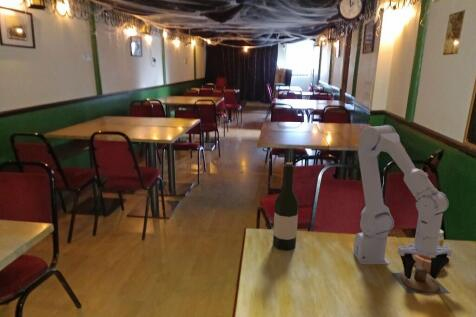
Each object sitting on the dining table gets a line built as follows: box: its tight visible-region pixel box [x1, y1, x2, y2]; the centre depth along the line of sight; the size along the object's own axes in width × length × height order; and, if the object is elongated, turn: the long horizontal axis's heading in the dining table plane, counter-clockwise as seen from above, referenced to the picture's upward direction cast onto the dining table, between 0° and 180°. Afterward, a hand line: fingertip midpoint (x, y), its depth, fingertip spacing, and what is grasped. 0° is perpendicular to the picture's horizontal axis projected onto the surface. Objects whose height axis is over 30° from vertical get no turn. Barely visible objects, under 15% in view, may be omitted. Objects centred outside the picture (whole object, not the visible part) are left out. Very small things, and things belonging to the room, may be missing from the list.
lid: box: [400, 266, 440, 294], centre depth 100 cm, size 10×10×4 cm
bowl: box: [412, 255, 444, 273], centre depth 110 cm, size 9×9×4 cm
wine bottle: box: [272, 162, 300, 252], centre depth 118 cm, size 8×8×30 cm
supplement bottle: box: [437, 228, 445, 247], centre depth 117 cm, size 5×5×8 cm
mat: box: [391, 272, 451, 294], centre depth 100 cm, size 12×10×1 cm
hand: (420, 276), depth 100 cm, fingers open, 7 cm apart
